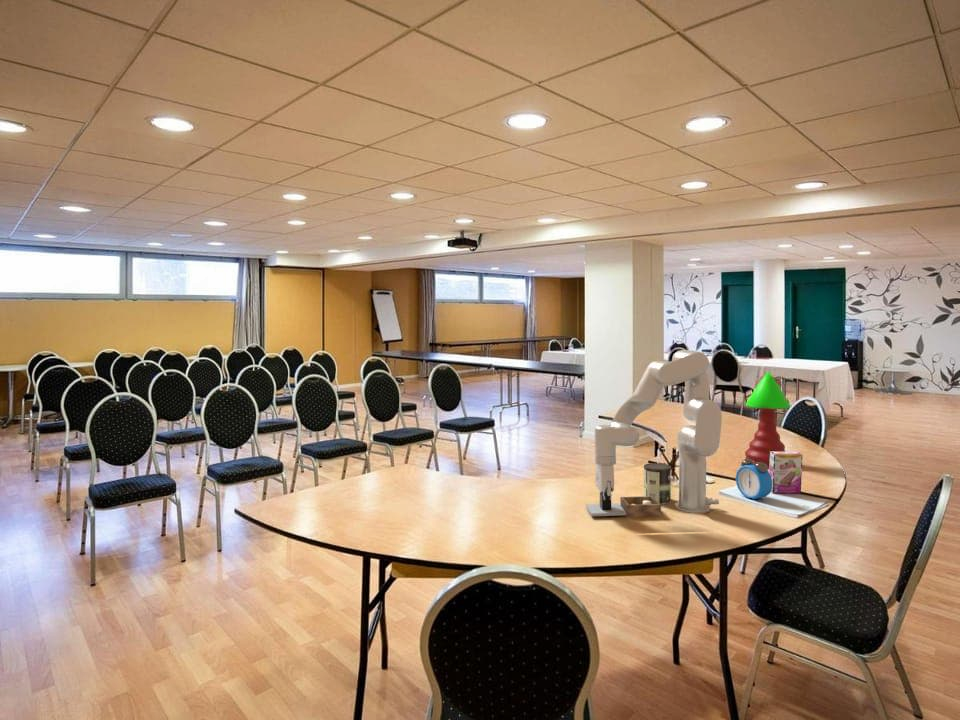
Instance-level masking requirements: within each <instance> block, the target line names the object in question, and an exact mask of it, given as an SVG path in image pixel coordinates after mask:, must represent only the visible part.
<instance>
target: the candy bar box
mask: <svg viewBox="0 0 960 720" xmlns="http://www.w3.org/2000/svg"><path fill="white" fill-rule="evenodd" d="M802 471H803V454H802V453H801V452H798V451H785V452H772V451H771V452H770V466H769V468H768V472H769V473H770V475H771V478H772V490H771V492H770V493H772V492H773V493H772V494H786V493H787V494H791V495H794V494H799V495H801V494H802V477H803V475H802V474H803V473H802Z"/></svg>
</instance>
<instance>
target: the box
mask: <svg viewBox="0 0 960 720" xmlns="http://www.w3.org/2000/svg"><path fill="white" fill-rule="evenodd" d="M619 500H620V504H619V505H620V506H621V507H622V508H623V509H624V511H625V512H626V515H625V516H626V517H627V518H628V517H630V519H633V518H656V517H657V518H658V517H659V518H660V517H662V504H660V503H659V502H658V501H657V500H656V499H655V498H653V497H652V496H644V495H642V496H641V495H640V496H620V499H619ZM644 500H648V501H651V504H643V501H644ZM631 504H636V505H631Z"/></svg>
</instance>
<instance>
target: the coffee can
mask: <svg viewBox="0 0 960 720" xmlns="http://www.w3.org/2000/svg"><path fill="white" fill-rule="evenodd" d="M671 475H672V466H671V465H669V464H665V463H660V462H651V463H650V462H649V463H645V464H644V465H643V496H652V497H653V498H655V499H656V500H657V501H658V502H659V503H660V504H661V505H665V504H669V503H671V500H672V498H671V495H672V494H671V493H672V492H671V491H672V488H671V487H672V486H671V485H672V482H671V481H672V476H671Z"/></svg>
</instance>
